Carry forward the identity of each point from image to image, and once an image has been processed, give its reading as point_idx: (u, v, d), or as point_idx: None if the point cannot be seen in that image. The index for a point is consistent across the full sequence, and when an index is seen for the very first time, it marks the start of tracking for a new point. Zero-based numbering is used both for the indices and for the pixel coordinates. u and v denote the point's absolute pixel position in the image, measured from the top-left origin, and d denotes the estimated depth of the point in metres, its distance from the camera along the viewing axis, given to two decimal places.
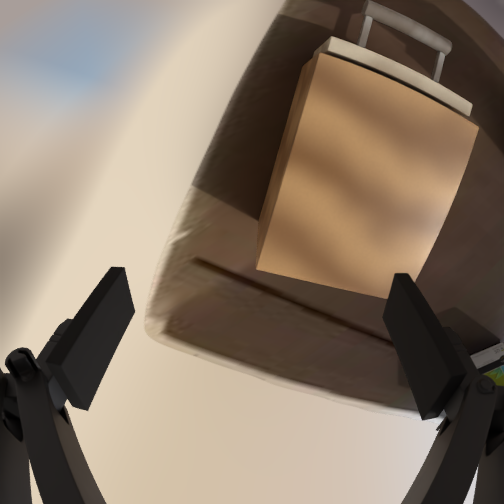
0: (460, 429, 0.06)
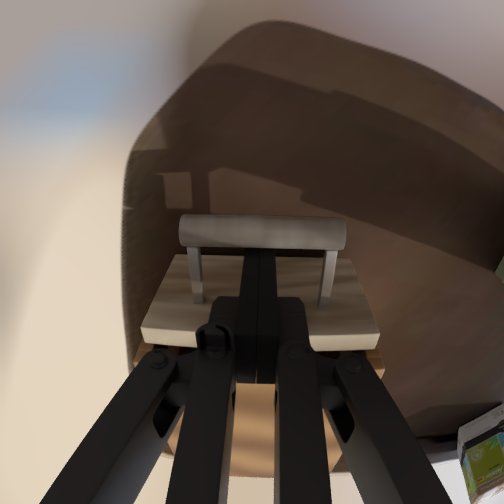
0: (285, 406, 0.08)
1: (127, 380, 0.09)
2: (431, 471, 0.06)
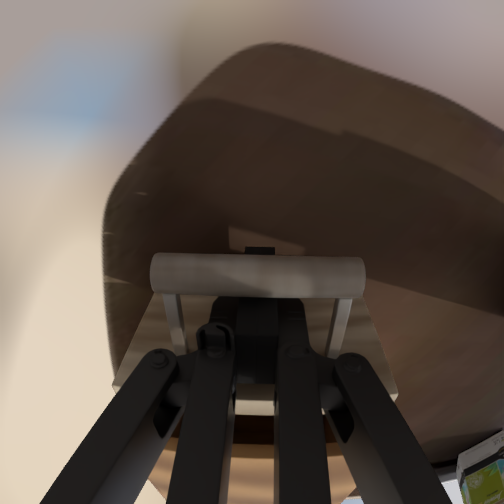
0: (285, 406, 0.08)
1: (128, 380, 0.09)
2: (431, 471, 0.06)
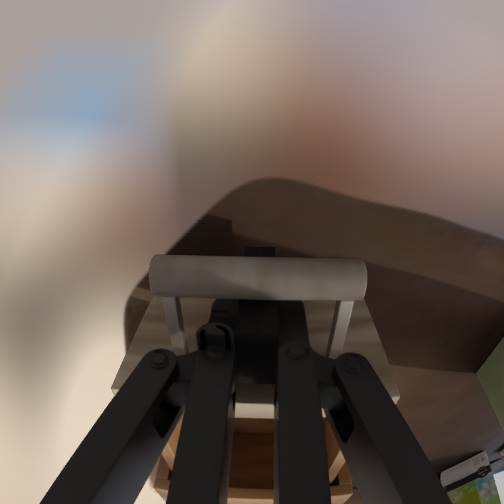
0: (284, 406, 0.08)
1: (127, 380, 0.09)
2: (431, 471, 0.06)
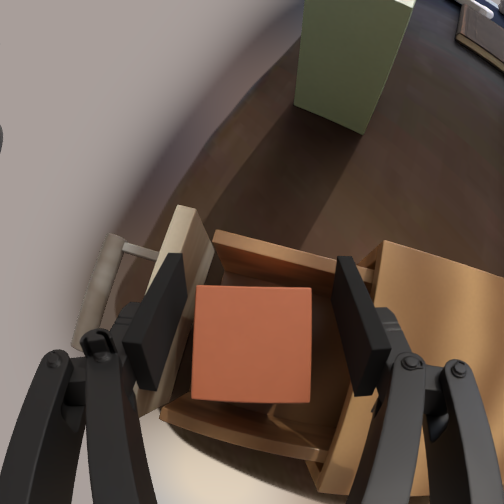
0: (391, 411, 0.07)
1: (32, 383, 0.08)
2: (498, 480, 0.04)
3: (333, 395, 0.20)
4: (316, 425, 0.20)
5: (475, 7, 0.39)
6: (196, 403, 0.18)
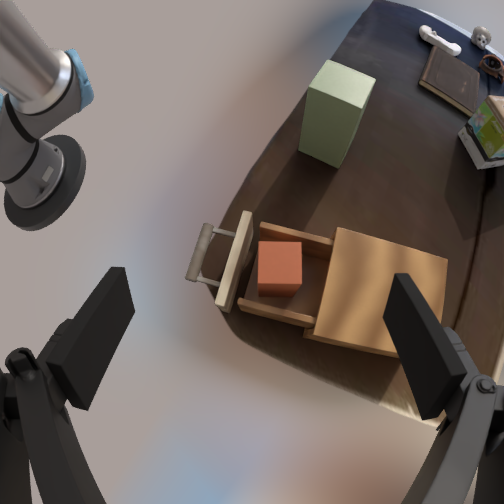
0: (460, 429, 0.06)
1: None
2: None
3: (315, 306, 0.44)
4: None
5: (444, 47, 0.62)
6: None
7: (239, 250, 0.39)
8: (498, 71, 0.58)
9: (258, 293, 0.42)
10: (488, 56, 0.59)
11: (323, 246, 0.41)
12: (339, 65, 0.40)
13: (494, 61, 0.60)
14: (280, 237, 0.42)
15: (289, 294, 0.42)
